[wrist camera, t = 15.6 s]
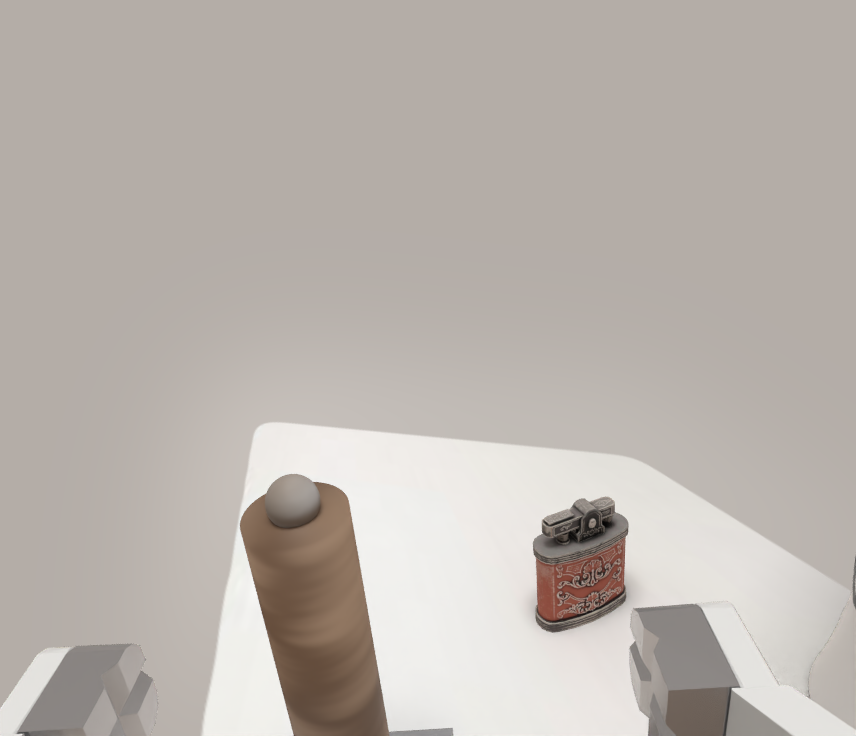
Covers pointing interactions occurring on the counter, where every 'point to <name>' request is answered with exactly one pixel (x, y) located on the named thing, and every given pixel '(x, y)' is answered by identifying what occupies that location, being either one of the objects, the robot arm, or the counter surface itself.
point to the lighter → (580, 564)
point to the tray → (424, 732)
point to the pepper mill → (315, 607)
